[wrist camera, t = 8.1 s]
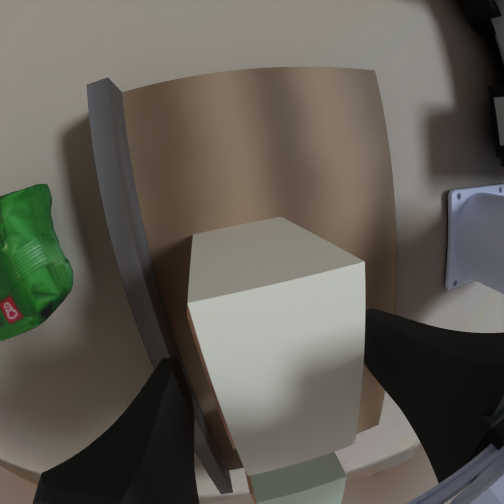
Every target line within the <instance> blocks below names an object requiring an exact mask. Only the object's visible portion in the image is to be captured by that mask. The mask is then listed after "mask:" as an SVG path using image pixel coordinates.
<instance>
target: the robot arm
mask: <svg viewBox="0 0 504 504" xmlns="http://www.w3.org/2000/svg"><path fill="white" fill-rule="evenodd" d="M472 280H475V281H478V282H480V283H482V284H484V285H486V286H488V287H490V288H492V289H494V290H496V291H498V292H500V293H502V294H504V184H495V185H486V186H478V187H470V188H462V189H454V190H450V192H449V194H448V254H447V269H446V280H445V288H446V289H447V290H449V291H450V290H453V289H455V288H457V287H459V286H461V285H464V284H466V283H468V282H470V281H472ZM364 363H365V365H366V367H367V368H368V370H369V371H370V373H371V374H372V375H373V376H374V377H375V379H376V380H377V381H378V382H379V383H380V385H381V386H382V387H383V388H384V389H385V391H386V392H387V393H388V394H389V395H390V397H391V398H392V399H393V400H394V401H395V403H396V404H397V405H398V406H399V408H400V409H401V410H402V412H403V413H404V415H405V416H406V418H407V420H408V421H409V423H410V424H411V426H412V428H413V429H414V431H415V433H416V435H417V437H418V438H419V440H420V442H421V444H422V446H423V448H424V450H425V452H426V454H427V456H428V458H429V460H430V462H431V465H432V467H433V470H434V472H435V475H436V477H437V480H438V482H439V484H438V485H436V486H435V487H433V488H432V489H430V490H428V491H427V492H425V493H424V494H422V495H420V496H418V497H417V498H415V499H414V500H412V501H410V502H408V503H406V504H444V503H445V502H446V501H448V500H449V499H451V498H452V497H454V496H455V495H456V494H458V493H459V492H460V491H462V490H463V489H464V488H465V489H464V490H463V491H462V492H461V493H460V494H458V495H457V496H456V497H455V498H454V499H453V500H452V502H451V503H450V504H504V333H471V332H461V331H454V330H448V329H443V328H438V327H434V326H430V325H426V324H423V323H419V322H416V321H412V320H409V319H406V318H403V317H400V316H397V315H394V314H391V313H388V312H384V311H381V310H377V309H373V308H371V309H368V310H365V344H364ZM194 426H195V416H194V407H193V398H192V393H191V391H190V388H189V386H188V383H187V381H186V378H185V376H184V373H183V370H182V368H181V365H180V362H179V359H178V357H177V356H176V357H170V358H164V359H162V360H161V361H160V362H159V364H158V365H157V367H156V368H155V370H154V371H153V373H152V375H151V376H150V378H149V379H148V381H147V382H146V384H145V385H144V387H143V388H142V389H141V391H140V392H139V394H138V395H137V397H136V398H135V399H134V400H133V402H132V403H131V404H130V406H129V407H128V408H127V409H126V411H125V412H124V413H123V414H122V415H121V416H120V417H119V419H118V420H117V421H116V422H115V423H114V424H113V425H112V426H111V427H110V428H109V429H108V430H107V431H106V432H104V433H103V434H102V435H101V436H100V437H99V438H97V439H96V440H95V441H94V442H93V443H91V444H90V445H89V446H88V447H86V448H85V449H84V450H82V451H81V452H79V453H78V454H76V455H75V456H73V457H72V458H70V459H68V460H67V461H65V462H63V463H61V464H59V465H57V466H55V467H54V468H52V469H50V470H48V471H45V472H43V473H42V474H41V477H40V480H39V483H38V487H37V490H36V493H35V497H34V500H33V504H199V499H198V493H197V486H196V479H195V470H194ZM468 485H469V486H468ZM467 486H468V487H467ZM466 487H467V488H466Z"/></svg>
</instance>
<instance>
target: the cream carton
mask: <svg viewBox="0 0 504 504" xmlns="http://www.w3.org/2000/svg"><path fill="white" fill-rule="evenodd" d="M187 303H188V304H187V318H188V321H189V325H190V328H191V331H192V334H193V338H194V341H195V344H196V347H197V350H198V354H199V357H200V360H201V363H202V366H203V369H204V372H205V375H206V378H207V380H208V383H209V386H210V389H211V392H212V395H213V397H214V400H215V403H216V406H217V408H218V411H219V414H220V416H221V419H222V422H223V424H224V427H225V429H226V432H227V434H228V437H229V439H230V442H231V444H232V447H233V449H237V452H238V454H239V457H240V459H241V462H242V464H243V466H244V469H245V471H246V473H247V476H249V475H254V474H259V473H263V472H267V471H272V470H276V469H280V468H283V467H287V466H291V465H294V464H298V463H301V462H304V461H308V460H311V459H314V458H317V457H320V456H323V455H326V454H329V453H332V452H334V451H337V450H340V449H342V448H345V447H347V446H350V445H352V444H355V439H356V432H357V425H358V417H359V408H360V399H361V389H362V377H363V363H364V344H365V261H363V260H361V259H359V258H357V257H356V256H354V255H352V254H350V253H348V252H347V251H345V250H343V249H341V248H339V247H337V246H336V245H334V244H332V243H330V242H328V241H326V240H324V239H323V238H321V237H319V236H317V235H315V234H313V233H311V232H309V231H308V230H306V229H304V228H302V227H300V226H298V225H296V224H294V223H292V222H290V221H288V220H286V219H285V218H283V217H277V218H272V219H267V220H262V221H257V222H252V223H246V224H241V225H236V226H231V227H226V228H222V229H217V230H212V231H207V232H202V233H198V234H193V239H192V250H191V261H190V274H189V287H188V302H187Z"/></svg>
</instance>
